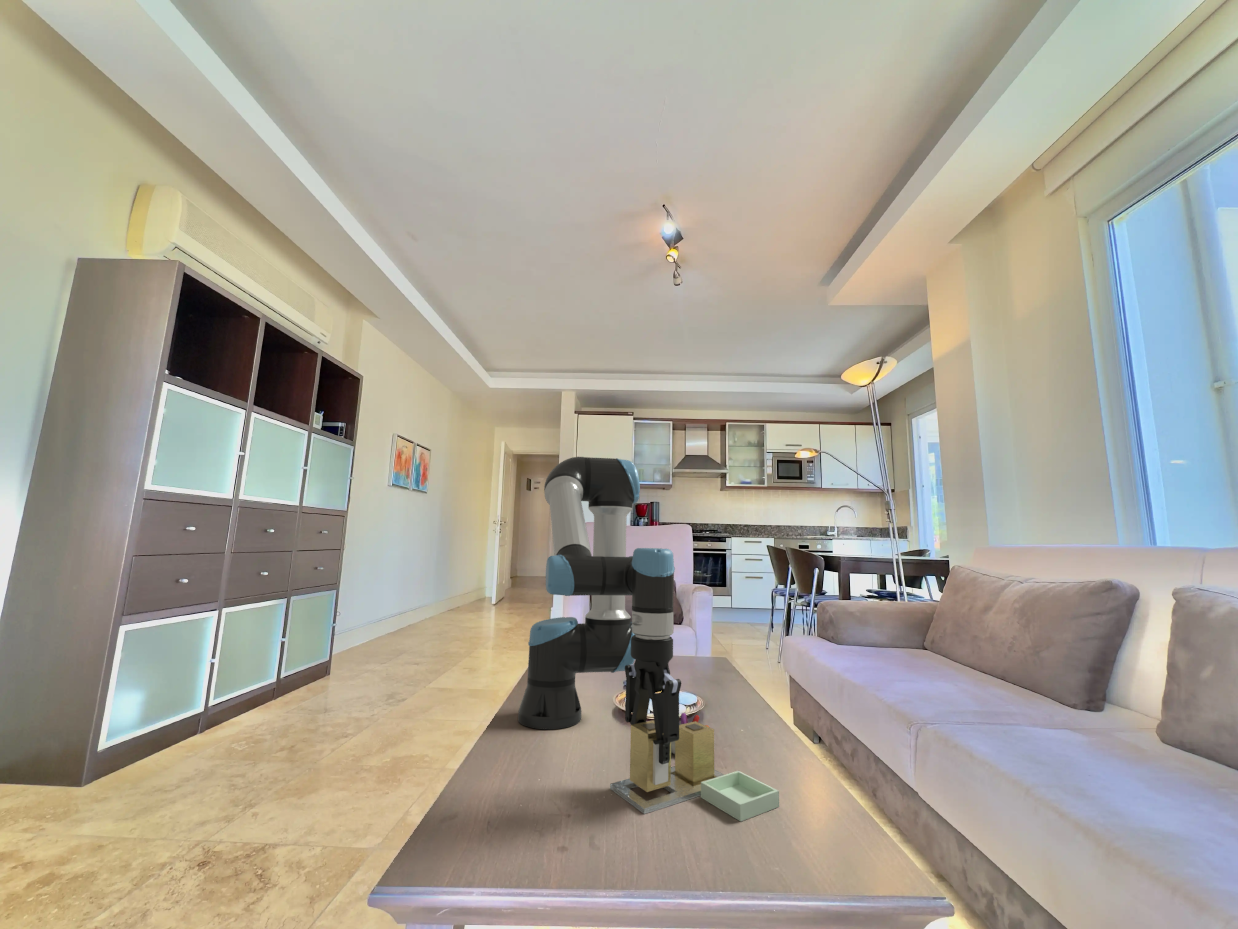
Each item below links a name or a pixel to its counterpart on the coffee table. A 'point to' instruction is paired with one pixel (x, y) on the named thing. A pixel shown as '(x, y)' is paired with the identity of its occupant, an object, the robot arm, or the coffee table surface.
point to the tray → (739, 795)
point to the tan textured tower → (694, 753)
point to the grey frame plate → (678, 794)
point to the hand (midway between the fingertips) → (650, 775)
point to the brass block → (644, 756)
